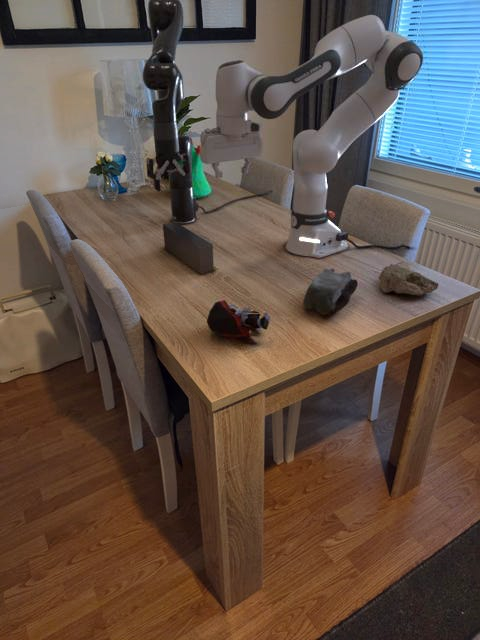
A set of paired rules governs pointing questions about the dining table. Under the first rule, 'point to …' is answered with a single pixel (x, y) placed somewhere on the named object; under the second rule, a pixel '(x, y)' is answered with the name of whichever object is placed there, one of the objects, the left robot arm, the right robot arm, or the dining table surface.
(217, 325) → the toy
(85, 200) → the dining table surface
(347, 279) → the dark grey rock
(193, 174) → the toy
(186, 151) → the left robot arm
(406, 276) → the artifact
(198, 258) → the bar
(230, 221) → the dining table surface
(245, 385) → the dining table surface
